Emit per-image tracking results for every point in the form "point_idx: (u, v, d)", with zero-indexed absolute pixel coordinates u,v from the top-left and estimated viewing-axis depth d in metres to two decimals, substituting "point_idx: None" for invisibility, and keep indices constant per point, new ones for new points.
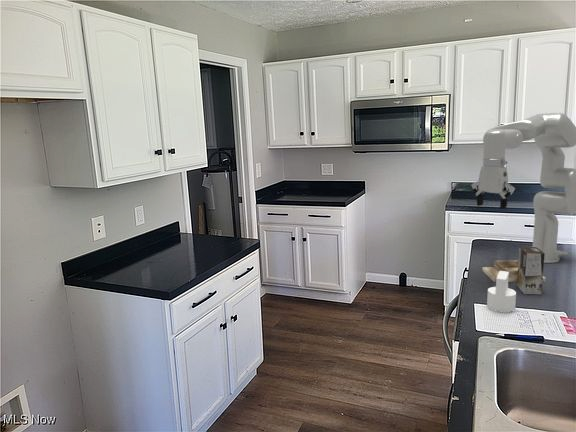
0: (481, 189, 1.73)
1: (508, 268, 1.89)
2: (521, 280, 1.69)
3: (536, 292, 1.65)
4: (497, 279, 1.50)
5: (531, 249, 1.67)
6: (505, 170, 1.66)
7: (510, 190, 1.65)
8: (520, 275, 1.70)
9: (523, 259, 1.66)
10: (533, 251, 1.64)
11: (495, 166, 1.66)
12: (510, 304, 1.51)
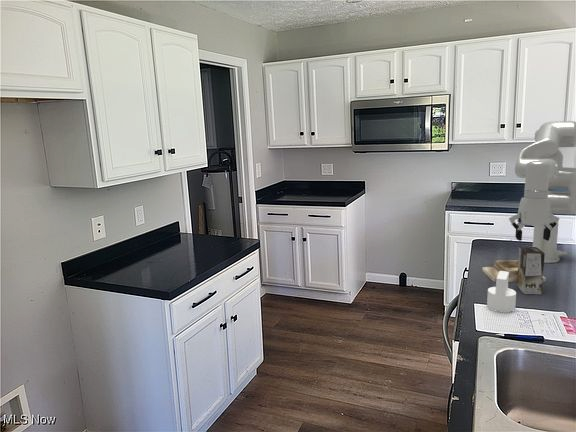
0: (526, 223, 1.62)
1: (508, 268, 1.89)
2: (521, 280, 1.69)
3: (536, 292, 1.65)
4: (497, 279, 1.50)
5: (531, 249, 1.67)
6: None
7: (556, 220, 1.62)
8: (520, 275, 1.70)
9: (523, 259, 1.66)
10: (533, 251, 1.64)
11: (546, 197, 1.59)
12: (510, 304, 1.51)
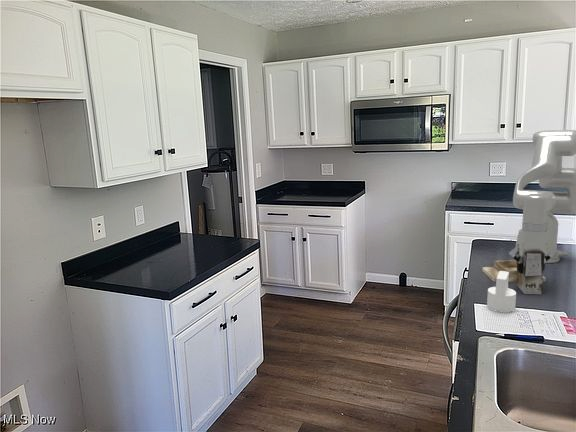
0: (524, 255, 1.65)
1: (508, 268, 1.89)
2: (521, 280, 1.69)
3: (536, 292, 1.65)
4: (497, 279, 1.50)
5: None
6: None
7: (551, 254, 1.65)
8: (520, 275, 1.70)
9: None
10: None
11: (543, 230, 1.61)
12: (510, 304, 1.51)
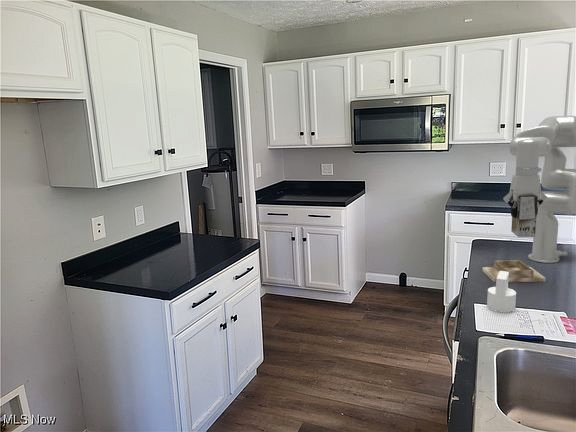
0: None
1: (508, 268, 1.89)
2: (515, 225, 1.73)
3: (530, 235, 1.70)
4: (497, 279, 1.50)
5: None
6: None
7: (543, 198, 1.70)
8: (514, 220, 1.75)
9: (517, 203, 1.71)
10: None
11: (536, 174, 1.66)
12: (510, 304, 1.51)
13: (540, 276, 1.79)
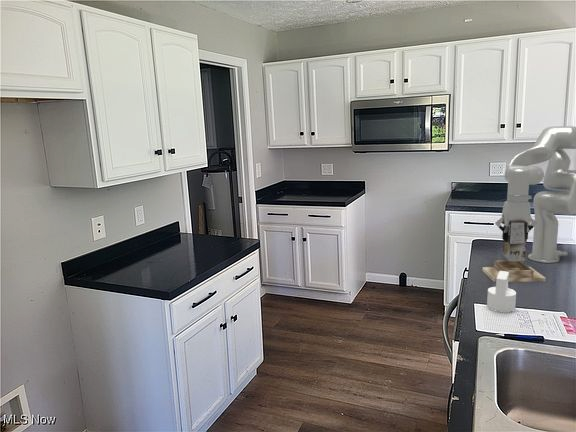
0: None
1: (508, 268, 1.89)
2: (506, 249, 1.82)
3: (520, 259, 1.79)
4: (497, 279, 1.50)
5: None
6: None
7: (533, 224, 1.79)
8: (505, 244, 1.84)
9: None
10: (517, 221, 1.78)
11: (526, 201, 1.75)
12: (510, 304, 1.51)
13: (540, 276, 1.79)
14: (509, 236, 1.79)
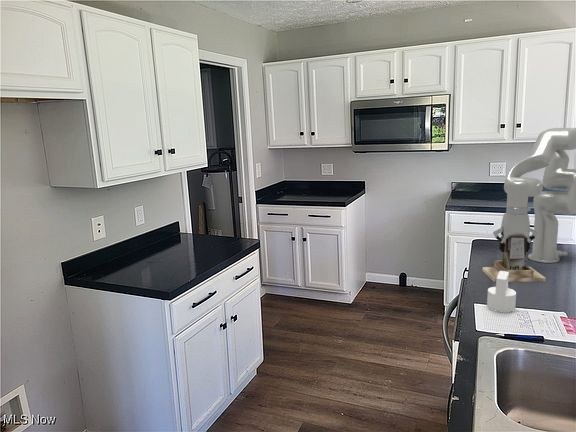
0: (508, 236, 1.80)
1: None
2: (506, 263, 1.84)
3: None
4: (497, 279, 1.50)
5: None
6: None
7: (535, 234, 1.80)
8: (505, 259, 1.85)
9: (508, 243, 1.81)
10: (517, 236, 1.79)
11: (525, 214, 1.76)
12: (510, 304, 1.51)
13: (540, 276, 1.79)
14: (509, 251, 1.80)
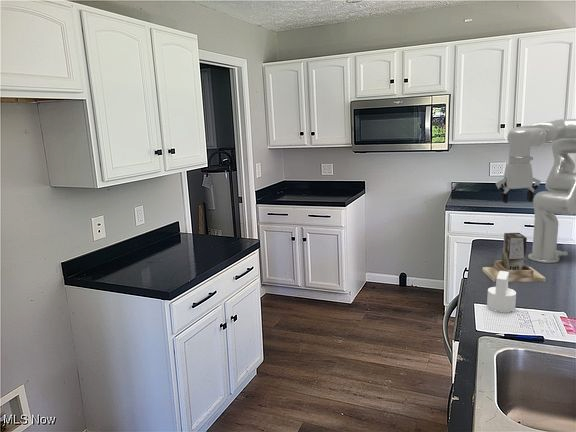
0: (511, 186, 1.79)
1: None
2: (505, 263, 1.84)
3: None
4: (497, 279, 1.50)
5: (514, 234, 1.82)
6: None
7: (538, 183, 1.80)
8: (504, 259, 1.85)
9: (507, 243, 1.81)
10: (516, 236, 1.79)
11: (528, 163, 1.76)
12: (510, 304, 1.51)
13: (540, 276, 1.79)
14: (508, 251, 1.80)
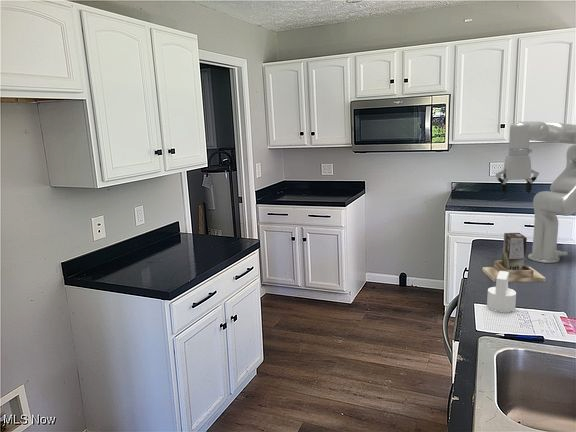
0: (510, 177, 1.86)
1: None
2: (505, 263, 1.84)
3: None
4: (497, 279, 1.50)
5: (514, 234, 1.82)
6: None
7: (536, 175, 1.86)
8: (504, 259, 1.85)
9: (507, 243, 1.81)
10: (516, 236, 1.79)
11: (527, 154, 1.83)
12: (510, 304, 1.51)
13: (540, 276, 1.79)
14: (508, 251, 1.80)
